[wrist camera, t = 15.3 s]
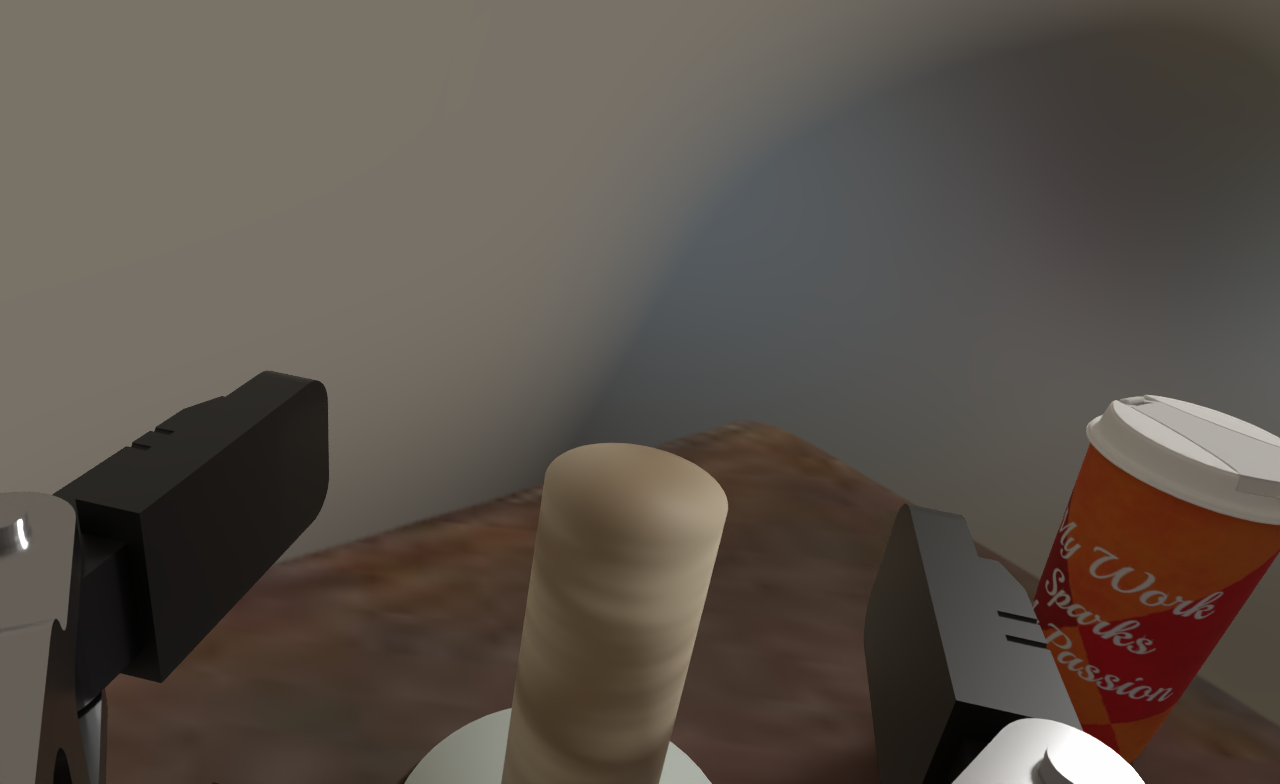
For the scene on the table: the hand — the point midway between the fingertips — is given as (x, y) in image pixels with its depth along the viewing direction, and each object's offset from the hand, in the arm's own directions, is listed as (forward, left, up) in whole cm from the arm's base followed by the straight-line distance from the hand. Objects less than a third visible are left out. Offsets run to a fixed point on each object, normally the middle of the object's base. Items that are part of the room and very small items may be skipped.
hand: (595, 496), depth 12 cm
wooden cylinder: (0, -10, -20) cm, 22 cm away
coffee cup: (-21, -23, -20) cm, 37 cm away
